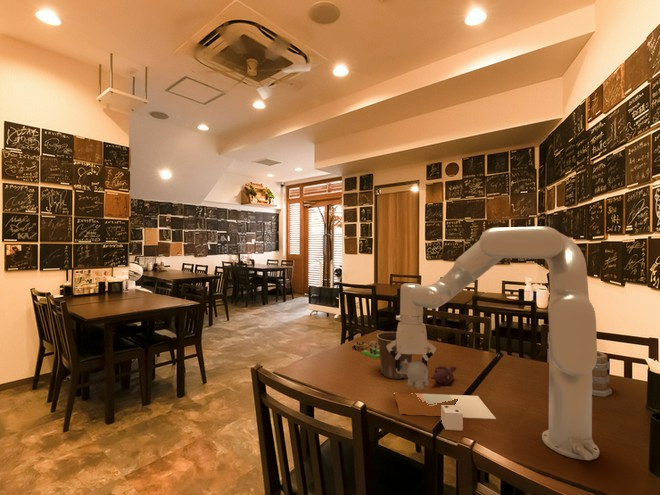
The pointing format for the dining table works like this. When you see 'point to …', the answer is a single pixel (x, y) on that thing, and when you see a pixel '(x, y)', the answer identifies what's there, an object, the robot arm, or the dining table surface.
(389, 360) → the plant pot
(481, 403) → the game mat
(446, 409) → the die
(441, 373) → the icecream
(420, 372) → the round bodied animal figurine
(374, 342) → the toy garden set
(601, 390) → the tankard
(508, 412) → the dining table surface
